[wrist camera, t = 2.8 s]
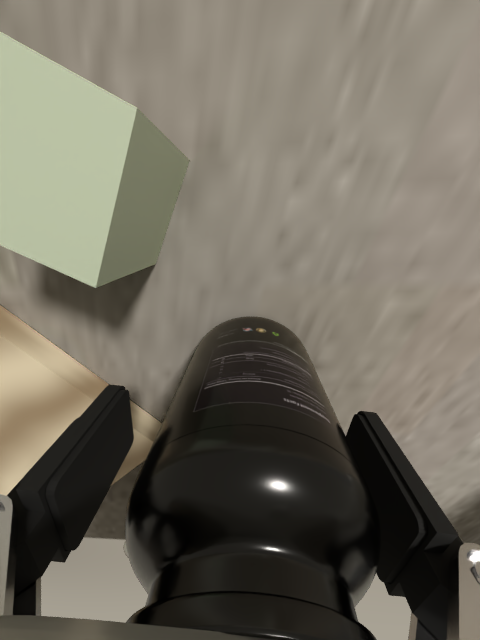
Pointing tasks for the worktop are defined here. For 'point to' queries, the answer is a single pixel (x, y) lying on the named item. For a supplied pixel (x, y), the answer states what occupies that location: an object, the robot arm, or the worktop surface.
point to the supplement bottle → (253, 498)
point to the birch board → (48, 401)
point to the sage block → (80, 172)
